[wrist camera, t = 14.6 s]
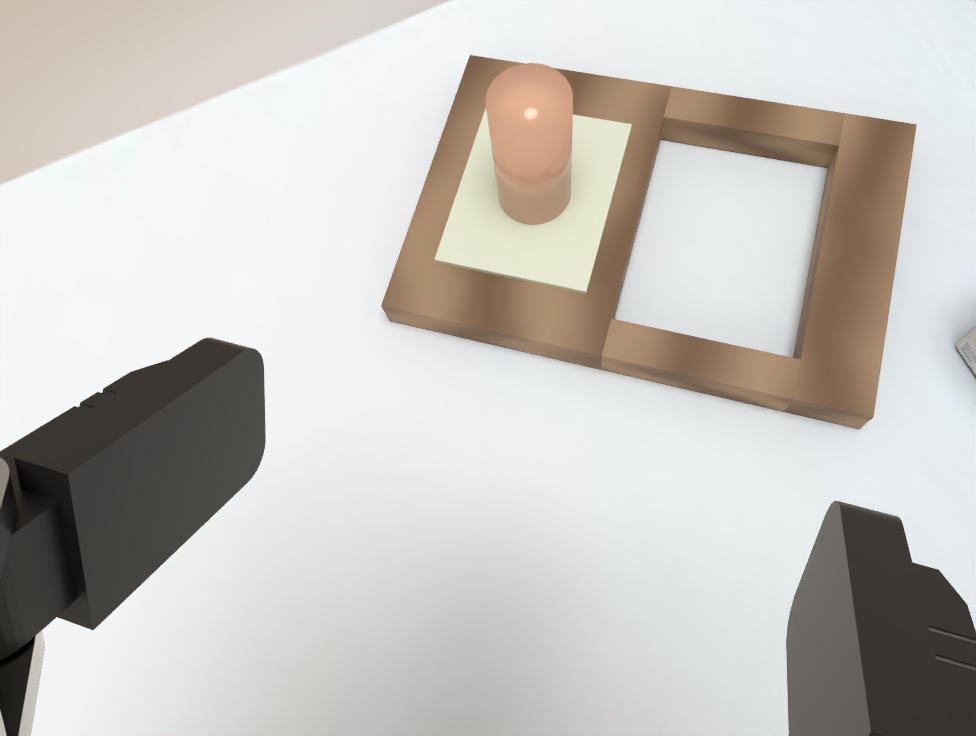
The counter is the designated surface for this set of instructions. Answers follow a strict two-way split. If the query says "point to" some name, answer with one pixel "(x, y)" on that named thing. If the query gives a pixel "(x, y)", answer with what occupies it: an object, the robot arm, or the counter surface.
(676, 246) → the counter surface
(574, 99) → the hole board
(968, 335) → the medicine box
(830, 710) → the robot arm
